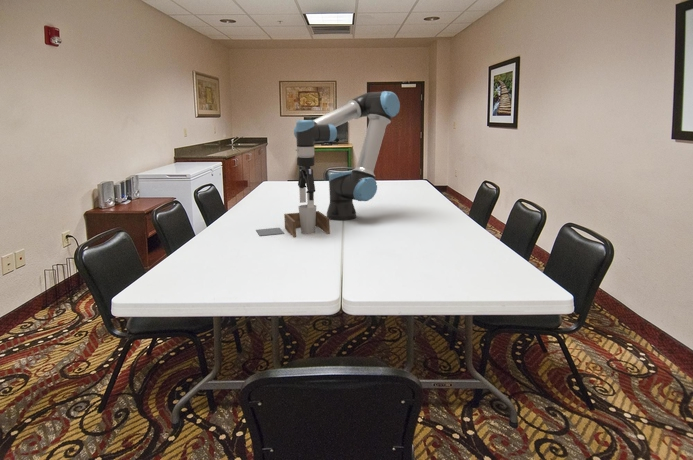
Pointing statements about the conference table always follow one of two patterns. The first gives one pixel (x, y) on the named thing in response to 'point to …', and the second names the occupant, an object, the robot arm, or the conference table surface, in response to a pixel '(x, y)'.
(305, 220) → the cup
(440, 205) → the conference table surface
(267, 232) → the mat
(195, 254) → the conference table surface
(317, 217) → the three-sided wooden box
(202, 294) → the conference table surface
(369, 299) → the conference table surface
